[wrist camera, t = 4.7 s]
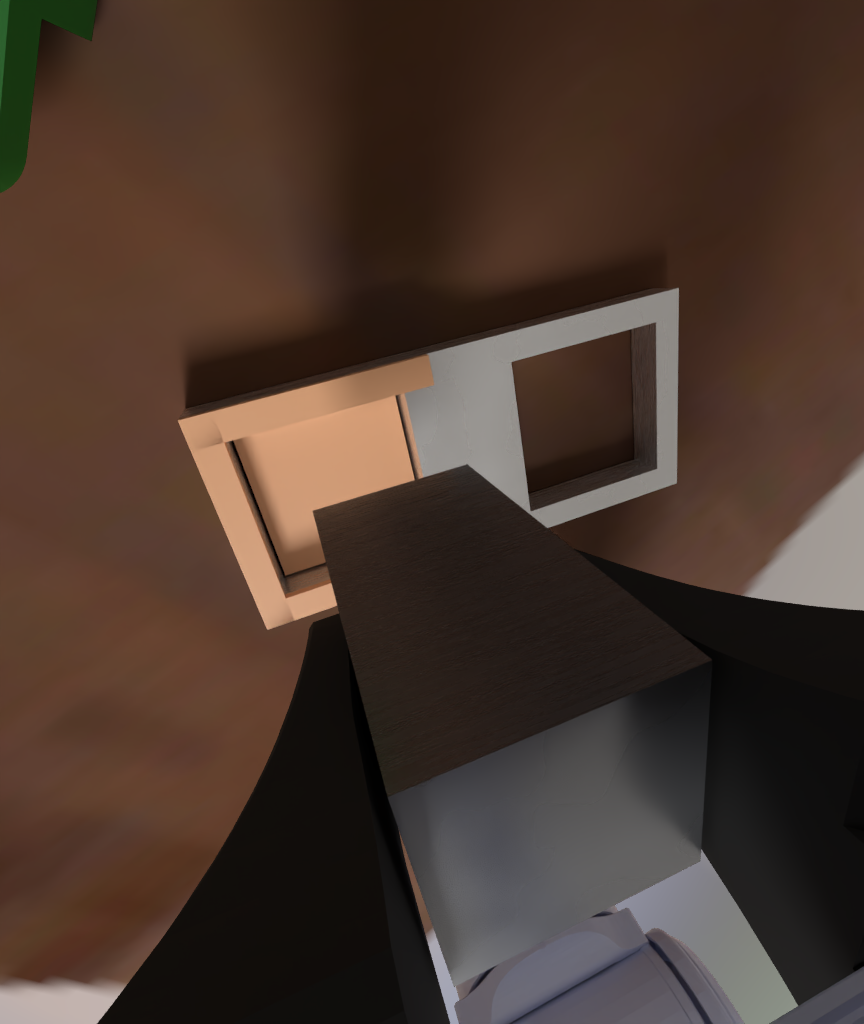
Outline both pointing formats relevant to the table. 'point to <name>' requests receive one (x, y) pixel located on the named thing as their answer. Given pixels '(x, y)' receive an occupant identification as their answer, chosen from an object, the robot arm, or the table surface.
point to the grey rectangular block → (515, 713)
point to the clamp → (28, 68)
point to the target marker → (302, 470)
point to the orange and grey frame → (494, 417)
